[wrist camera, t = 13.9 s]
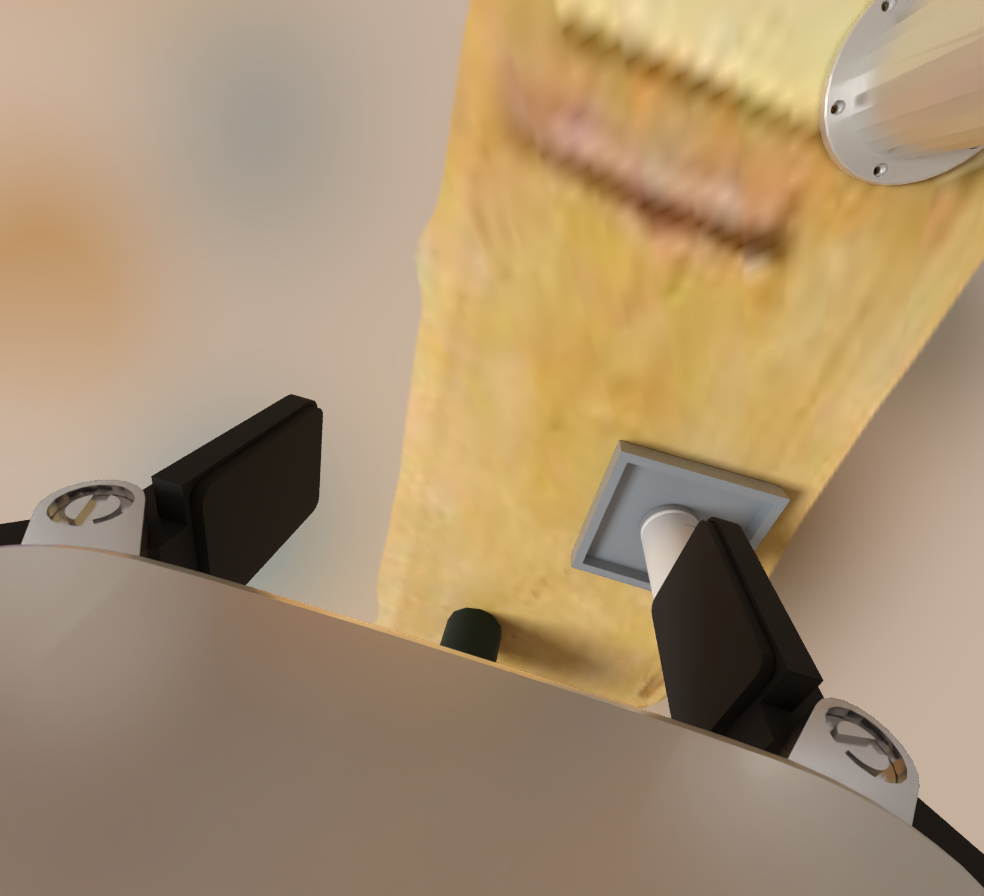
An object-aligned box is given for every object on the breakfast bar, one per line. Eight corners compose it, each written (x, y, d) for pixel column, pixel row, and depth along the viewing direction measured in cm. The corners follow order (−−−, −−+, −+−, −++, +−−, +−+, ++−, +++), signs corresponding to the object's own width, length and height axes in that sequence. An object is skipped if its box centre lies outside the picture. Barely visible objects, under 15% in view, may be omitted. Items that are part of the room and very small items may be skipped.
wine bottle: (440, 647, 66) (348, 931, 39) (453, 601, 61) (357, 889, 35) (491, 663, 65) (432, 960, 39) (507, 617, 61) (453, 921, 34)
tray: (619, 440, 46) (621, 451, 44) (780, 486, 45) (790, 499, 43) (571, 552, 54) (571, 566, 52) (708, 593, 53) (714, 610, 51)
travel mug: (702, 500, 47) (777, 668, 29) (696, 550, 50) (761, 729, 32) (640, 500, 48) (677, 660, 30) (638, 548, 51) (670, 720, 33)
